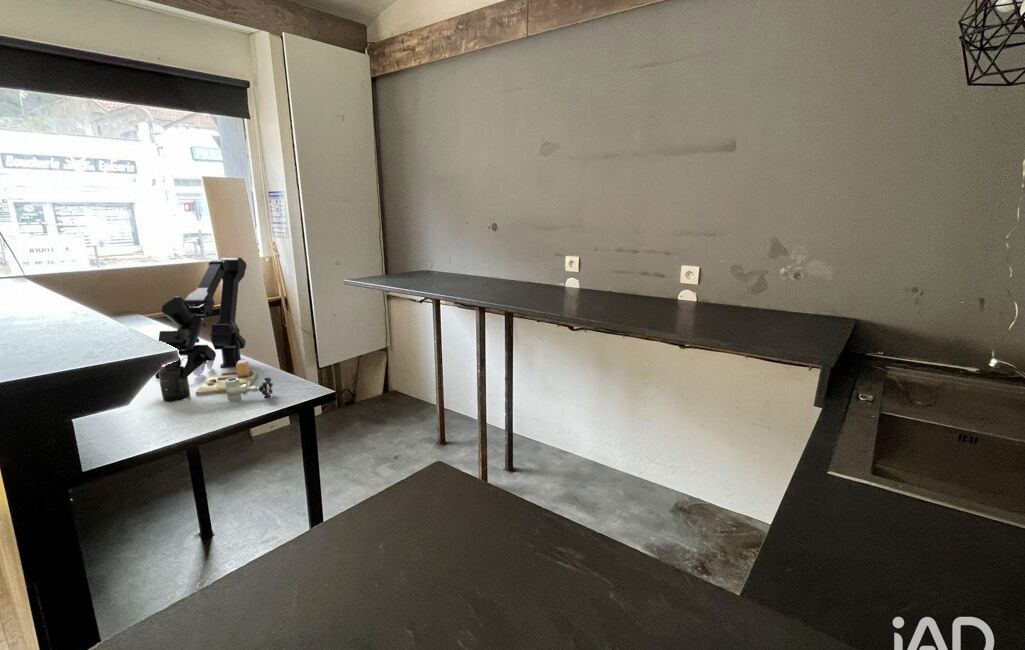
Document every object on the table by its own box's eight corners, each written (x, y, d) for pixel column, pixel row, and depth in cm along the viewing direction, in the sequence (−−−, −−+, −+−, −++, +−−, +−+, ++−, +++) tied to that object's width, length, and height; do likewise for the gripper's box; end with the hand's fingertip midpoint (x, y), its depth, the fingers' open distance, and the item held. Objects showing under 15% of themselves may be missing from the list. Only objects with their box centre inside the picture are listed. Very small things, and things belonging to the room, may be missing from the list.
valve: (223, 405, 140) (267, 402, 142) (219, 383, 138) (264, 381, 140) (231, 396, 146) (273, 394, 148) (228, 376, 145) (271, 373, 147)
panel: (211, 378, 160) (210, 373, 160) (257, 375, 164) (256, 370, 164) (195, 396, 146) (194, 390, 145) (247, 391, 150) (246, 386, 149)
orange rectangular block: (239, 373, 161) (238, 360, 160) (249, 372, 162) (248, 359, 161) (237, 376, 158) (235, 363, 157) (247, 375, 159) (245, 362, 158)
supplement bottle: (157, 400, 142) (150, 362, 140) (178, 392, 149) (172, 355, 146) (174, 403, 141) (168, 364, 138) (196, 394, 147) (189, 357, 144)
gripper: (140, 318, 143) (119, 366, 135) (204, 319, 143) (187, 366, 135) (163, 337, 152) (144, 382, 144) (223, 337, 153) (207, 382, 145)
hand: (170, 378), depth 142 cm, fingers open, 7 cm apart
